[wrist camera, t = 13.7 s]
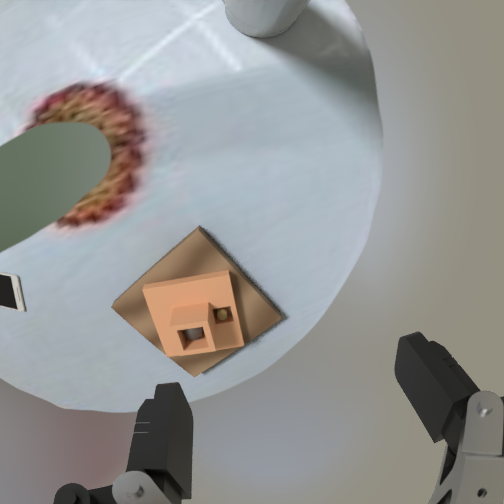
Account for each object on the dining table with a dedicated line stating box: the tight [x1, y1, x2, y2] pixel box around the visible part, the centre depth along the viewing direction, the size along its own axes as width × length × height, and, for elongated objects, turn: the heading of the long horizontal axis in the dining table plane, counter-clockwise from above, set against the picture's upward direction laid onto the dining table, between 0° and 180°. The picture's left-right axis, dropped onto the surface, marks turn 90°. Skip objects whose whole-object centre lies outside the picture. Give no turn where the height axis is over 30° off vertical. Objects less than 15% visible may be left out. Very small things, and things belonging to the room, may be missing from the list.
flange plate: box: [142, 270, 244, 357], centre depth 42 cm, size 12×12×6 cm
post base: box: [111, 226, 282, 377], centre depth 44 cm, size 18×18×6 cm
